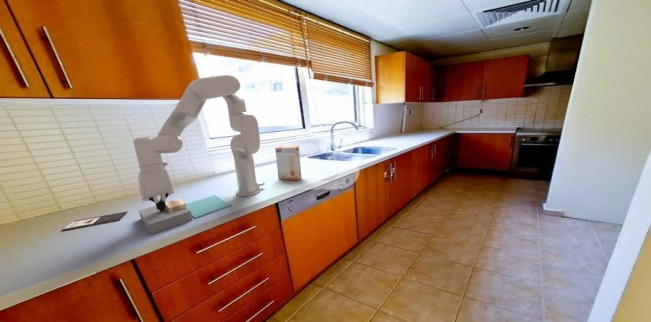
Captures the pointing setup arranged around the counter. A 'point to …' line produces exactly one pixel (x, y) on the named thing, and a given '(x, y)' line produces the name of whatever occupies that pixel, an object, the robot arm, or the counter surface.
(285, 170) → the cracker box
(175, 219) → the block
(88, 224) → the chocolate bar
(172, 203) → the tan rectangular block
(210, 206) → the mat
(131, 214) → the counter surface
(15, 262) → the counter surface
